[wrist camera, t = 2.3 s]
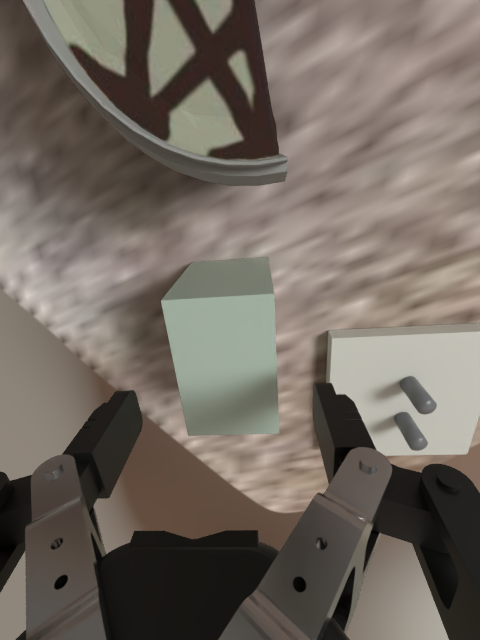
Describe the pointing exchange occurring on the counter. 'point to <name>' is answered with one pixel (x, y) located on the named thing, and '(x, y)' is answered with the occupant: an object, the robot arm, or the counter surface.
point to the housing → (225, 346)
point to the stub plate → (411, 384)
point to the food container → (173, 80)
